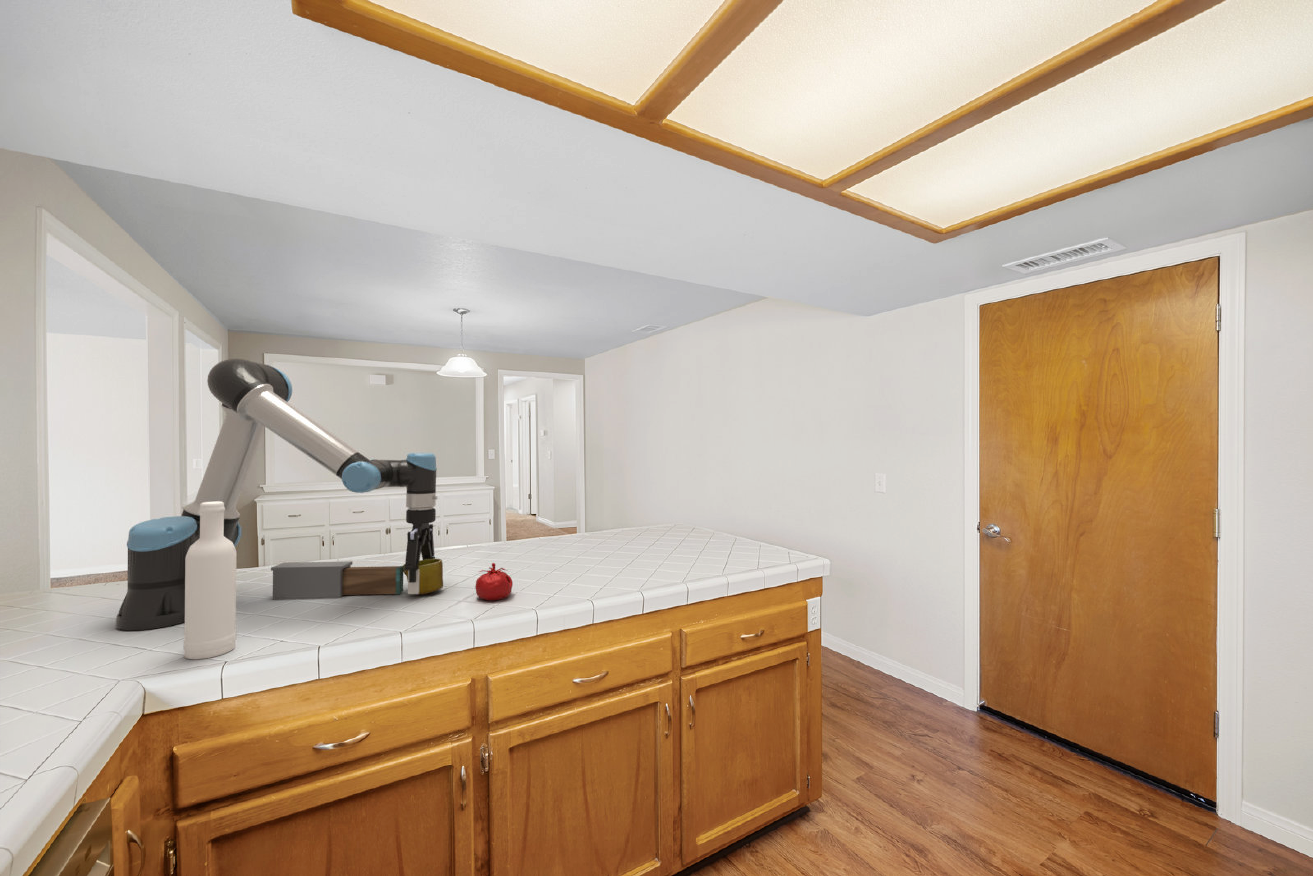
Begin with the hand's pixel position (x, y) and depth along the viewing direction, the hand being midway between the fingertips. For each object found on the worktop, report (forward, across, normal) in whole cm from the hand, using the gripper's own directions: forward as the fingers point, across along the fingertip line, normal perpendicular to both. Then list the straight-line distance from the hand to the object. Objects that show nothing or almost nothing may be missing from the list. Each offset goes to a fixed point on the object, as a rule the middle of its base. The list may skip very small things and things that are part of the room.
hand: (420, 588), depth 145 cm
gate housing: (+1, 0, +28) cm, 28 cm away
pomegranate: (+1, -6, -21) cm, 22 cm away
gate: (+1, 0, +13) cm, 13 cm away
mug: (+1, +1, 0) cm, 1 cm away
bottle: (+2, -38, +28) cm, 47 cm away
